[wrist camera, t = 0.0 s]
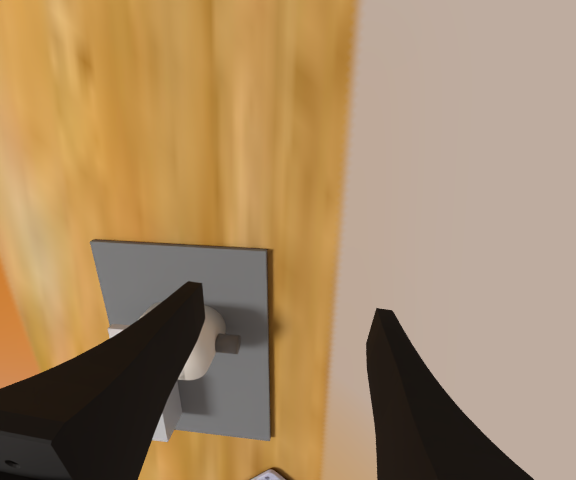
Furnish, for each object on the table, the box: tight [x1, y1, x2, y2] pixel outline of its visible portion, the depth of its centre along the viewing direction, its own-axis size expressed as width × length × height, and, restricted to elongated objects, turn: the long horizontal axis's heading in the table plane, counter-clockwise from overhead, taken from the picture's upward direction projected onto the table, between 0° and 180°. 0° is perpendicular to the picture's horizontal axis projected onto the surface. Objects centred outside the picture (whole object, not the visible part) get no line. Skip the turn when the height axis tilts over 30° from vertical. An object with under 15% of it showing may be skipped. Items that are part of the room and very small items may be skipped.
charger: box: [152, 381, 182, 442], centre depth 29 cm, size 5×5×3 cm
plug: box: [108, 302, 241, 380], centre depth 25 cm, size 10×4×4 cm, turn 90°
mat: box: [90, 240, 271, 441], centre depth 28 cm, size 20×14×1 cm
